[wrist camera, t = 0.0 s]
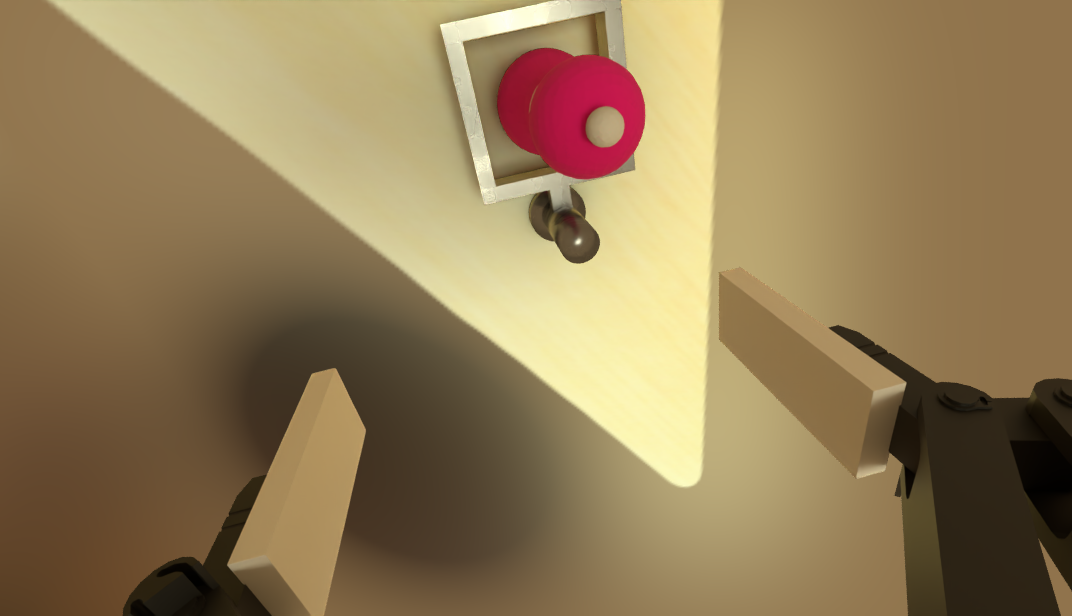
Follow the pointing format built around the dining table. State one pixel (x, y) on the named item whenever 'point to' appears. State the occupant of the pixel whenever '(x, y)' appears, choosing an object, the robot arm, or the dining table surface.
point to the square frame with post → (555, 202)
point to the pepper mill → (572, 111)
